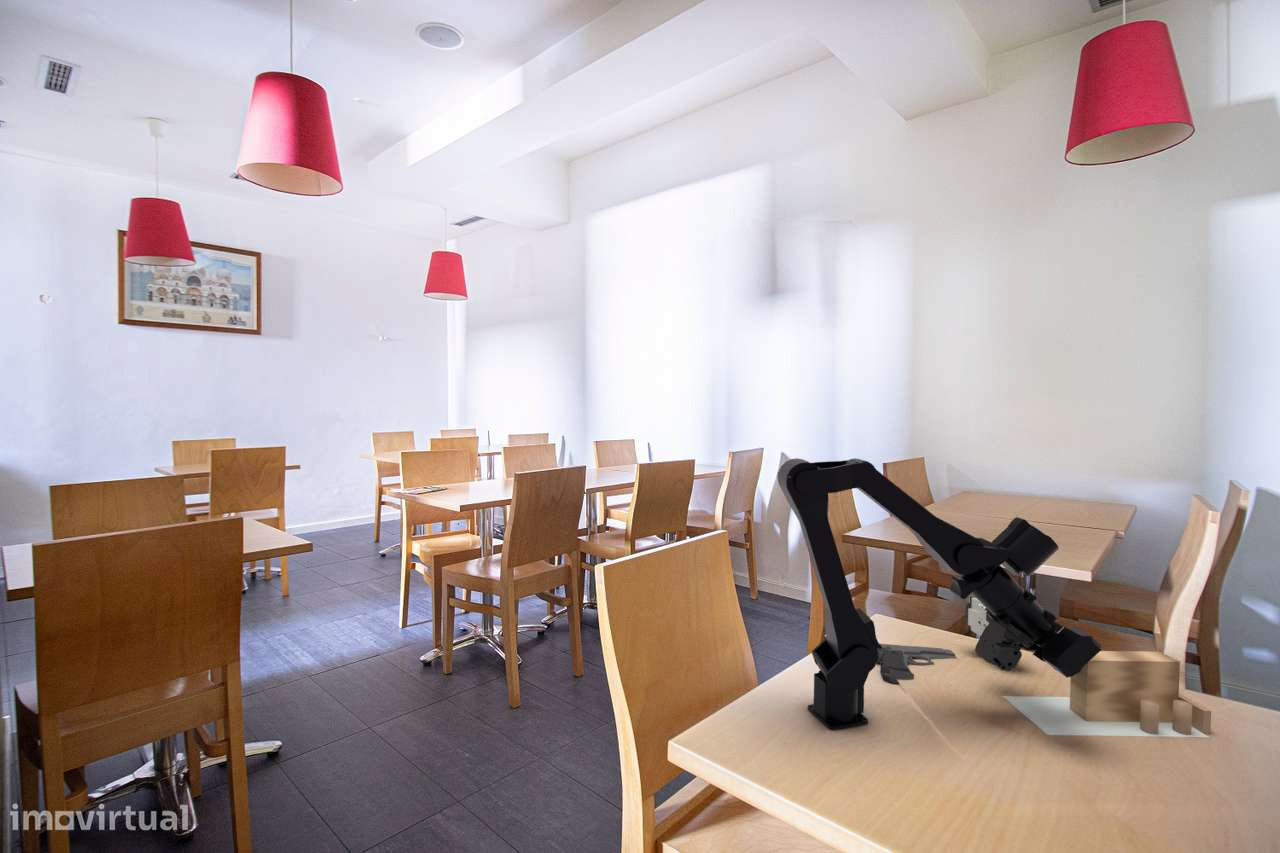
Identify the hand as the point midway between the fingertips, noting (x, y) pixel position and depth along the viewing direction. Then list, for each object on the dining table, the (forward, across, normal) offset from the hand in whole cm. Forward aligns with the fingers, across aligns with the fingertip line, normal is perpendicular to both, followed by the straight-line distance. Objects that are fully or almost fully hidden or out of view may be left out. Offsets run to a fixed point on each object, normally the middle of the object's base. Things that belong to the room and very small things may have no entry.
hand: (1077, 671), depth 90 cm
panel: (+8, 0, -3) cm, 8 cm away
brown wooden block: (+10, 0, 0) cm, 10 cm away
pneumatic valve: (+4, -19, -6) cm, 21 cm away
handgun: (-6, -17, -17) cm, 25 cm away
